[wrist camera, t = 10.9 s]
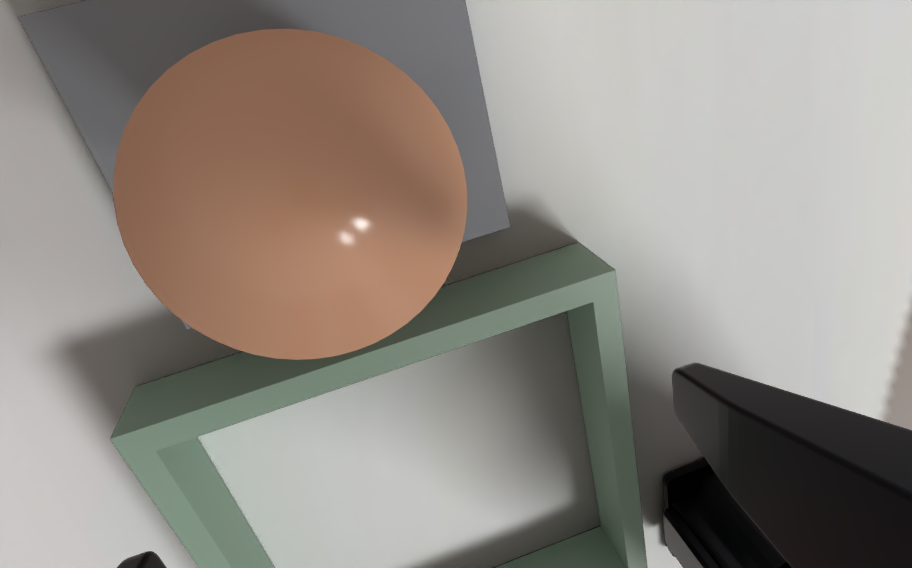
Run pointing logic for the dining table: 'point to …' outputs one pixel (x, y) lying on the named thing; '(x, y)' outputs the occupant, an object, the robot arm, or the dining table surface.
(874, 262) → the dining table surface
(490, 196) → the slate tile
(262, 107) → the peach mushroom knob
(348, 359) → the cold frame
